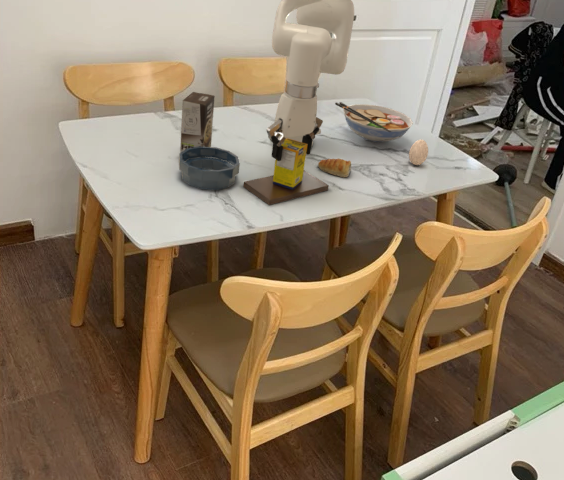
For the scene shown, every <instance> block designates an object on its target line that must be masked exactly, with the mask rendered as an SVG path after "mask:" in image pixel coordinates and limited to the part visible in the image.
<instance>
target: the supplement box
mask: <svg viewBox="0 0 564 480" xmlns="http://www.w3.org/2000/svg"><path fill="white" fill-rule="evenodd" d="M307 145H308V144H305V143H302V142H299V141H295V140H292V139H289V138H287V139H285V141H284V142H283V143H282V145H281V146H283V151H282V158H281V161H277V160H276V159H274V160H275V161H274V169H273V175H274V176H273V184H275V185H279V186H282V187H285V188H288V189H291V190H293V189H294V188H296V187H297V186H298V185H299V184H300V183H302V177H303V171H304V170H305V164H306V157H307V154H306V152H307Z"/></svg>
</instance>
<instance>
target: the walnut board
mask: <svg viewBox="0 0 564 480" xmlns="http://www.w3.org/2000/svg"><path fill="white" fill-rule="evenodd" d="M273 176H274V174H273V175H268V176H263V177H259V178H254V179H250V180H244V181H243V185H242V187H243V188H244V189H245V190H247V191H248V192H250V193H251V194H253V195H254V196H255V197H257V198H258V199H260V200H261V201H262V202H264V203H265V204H267V205H268V206H272V205H274V204H275V205H276V204H280V203H283V202H286V201H291V200H295V199H299V198H303V197H308V196H311V195H315V194H318V193H319V194H320V193H324V192H327V191H328V190H329V187H330V186H329V184H327V183H326V182H324V181H322V180H321V179H320V178H317V177H316V176H315V175H313V174H311V173H309V172H308V171H306V170H305V169H304V171H303V177H302V183H300V184H299V185H298V186H297V187H296V188H294V189H293V190H291V189H288V188H285V187H282V186H279V185H275V184H273Z"/></svg>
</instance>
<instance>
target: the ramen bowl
mask: <svg viewBox="0 0 564 480" xmlns="http://www.w3.org/2000/svg"><path fill="white" fill-rule="evenodd" d="M334 105H335V106H337V107H339V108H341V109H343V110H342V111H343V115H344V118H345V121H346V123H347V126H348V127H349V129H350V130H352V132H354V133H355V134H356V135H357V136H360V137H361V138H363V139H364V140H365V141H368V142H373V143H382V142H390V141H394V140H396V139H399V138H401V137H402V136H403V135H405V134H406V133H407V132H408V131H409V129H411V127H412V125H414V122H413V120H412V118H411V117H410V116H408V115H407V114H405V113H403V112H401V111H399V110H395V109H393V108H389V107H385V106H382V105H376V104H375V105H374V104H366V103H365V104H364V103H363V104H359V103H357V104H356V103H355V104H351V105H347V104H345V103H344V102H342V101H339V102H335V103H334Z"/></svg>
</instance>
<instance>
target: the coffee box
mask: <svg viewBox="0 0 564 480" xmlns="http://www.w3.org/2000/svg"><path fill="white" fill-rule="evenodd" d="M215 97H216V96H215V95H213V94H208V93H203V92H202V93H201V92H196V91H192V92H191V93H190V94H189V95H187V97H185V98H183V99H182V105H181V107H182V109H181V124H180V125H181V127H180V147H179V153H181V152H182V151H184V150H185V149H187V148H192V147H198V146H204V147H212V140H213V139H212V138H213V125H214V124H213V123H214V110H215ZM197 158H198V157H197ZM191 159H192V158H191Z"/></svg>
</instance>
